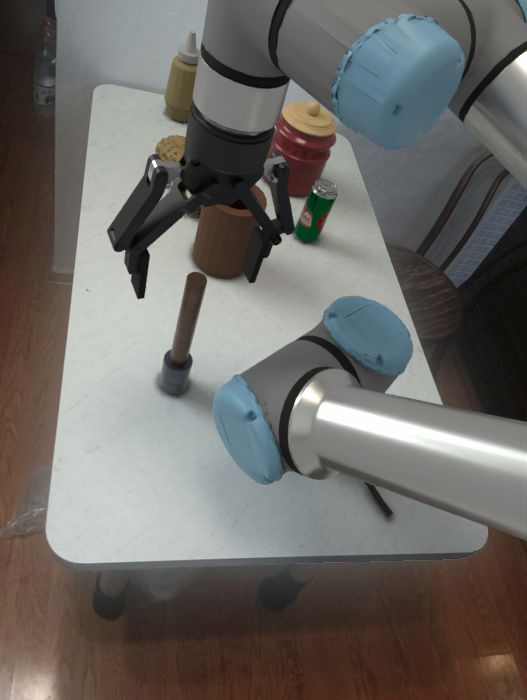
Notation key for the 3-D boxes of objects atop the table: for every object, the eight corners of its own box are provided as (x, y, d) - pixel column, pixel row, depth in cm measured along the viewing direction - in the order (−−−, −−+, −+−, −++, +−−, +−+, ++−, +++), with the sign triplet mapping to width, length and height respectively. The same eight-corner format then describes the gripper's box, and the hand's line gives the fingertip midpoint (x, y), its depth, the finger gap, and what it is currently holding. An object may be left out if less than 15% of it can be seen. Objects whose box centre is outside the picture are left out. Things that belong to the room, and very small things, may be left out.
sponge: (229, 224, 105) (218, 146, 113) (231, 198, 98) (220, 116, 106) (160, 227, 103) (155, 148, 111) (157, 200, 96) (152, 117, 104)
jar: (257, 261, 99) (278, 200, 88) (224, 287, 93) (242, 225, 82) (215, 231, 101) (231, 168, 90) (180, 255, 95) (192, 190, 84)
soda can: (290, 227, 108) (309, 176, 98) (312, 226, 110) (333, 177, 100) (298, 244, 105) (319, 194, 96) (321, 244, 107) (343, 195, 98)
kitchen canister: (248, 166, 116) (270, 88, 103) (290, 155, 124) (316, 80, 110) (287, 203, 112) (315, 126, 99) (328, 189, 119) (360, 115, 106)
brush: (192, 383, 80) (221, 280, 63) (174, 399, 77) (199, 297, 60) (171, 367, 80) (195, 261, 63) (153, 382, 78) (172, 277, 61)
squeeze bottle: (192, 129, 119) (206, 47, 106) (157, 117, 119) (167, 32, 105) (202, 113, 125) (217, 31, 111) (168, 100, 124) (179, 17, 110)
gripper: (334, 92, 53) (276, 249, 70) (74, 82, 43) (76, 271, 59) (371, 137, 50) (300, 291, 66) (97, 140, 39) (93, 323, 55)
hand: (195, 282), depth 62 cm, fingers open, 13 cm apart
